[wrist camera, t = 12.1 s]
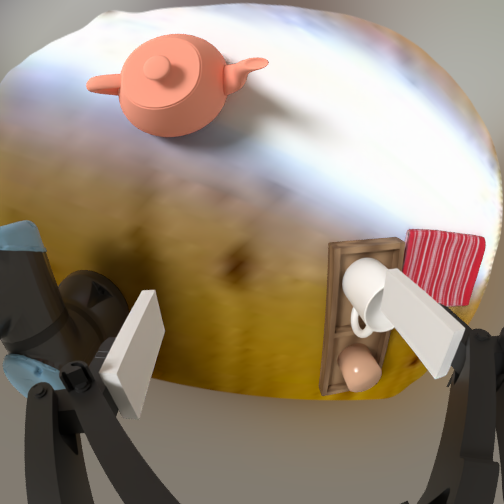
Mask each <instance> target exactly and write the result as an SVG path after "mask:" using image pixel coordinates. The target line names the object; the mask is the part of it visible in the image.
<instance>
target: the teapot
mask: <svg viewBox="0 0 504 504" xmlns="http://www.w3.org/2000/svg"><path fill="white" fill-rule="evenodd" d="M268 63H269V62H268V60H266V59H264V58H249V59H246V60H243V61H240V62H238V63H236V64H230V65H226V62H225V60H224V58H223V56H222V55H221V53H220V52H219V51H218V50H217V49H216V48H215V47H214V46H213V45H212V44H210V43H209V42H207V41H206V40H203V39H201V38H199V37H195V36H192V35H186V34H170V35H164V36H160V37H156V38H154V39H151V40H149V41H147V42H145V43H144V44H142V45H140V46H139V47H138V48H137V49H135V50H134V51H133V52H132V53H131V54H130V56H129V57H128V58H127V60H126V61H125V63H124V65H123V68H122V70H121V74H111V75H101V76H96V77H93V78H91V79H89V80H88V82H87V84H86V87H87V89H88V90H89V91H90V92H94V93H100V94H109V95H119V101H120V105H121V108H122V110H123V113H124V114H125V116H126V117H127V119H128V120H129V121H130V122H131V123H132V124H133V125H134V126H135V127H137V128H138V129H140V130H142V131H144V132H146V133H149V134H151V135H155V136H161V137H177V136H183V135H187V134H190V133H193V132H195V131H197V130H199V129H201V128H203V127H205V126H206V125H208V124H209V123H210V122H211V121H213V119H214V118H215V117H216V116H217V115H218V114H219V112H220V111H221V110H222V108H223V106H224V104H225V101H226V99H227V95H229V94H231V93H234V92H236V91H238V90H240V89H241V88H242V87H243V85H244V84H245V82H246V79H247V75H248V74H249V73H250V72H252V71H255V70H259V69H262V68H264V67H266V66H267V65H268Z"/></svg>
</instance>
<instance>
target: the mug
mask: <svg viewBox="0 0 504 504" xmlns="http://www.w3.org/2000/svg"><path fill="white" fill-rule="evenodd" d="M387 269H388V268H386V267H385V266H384V265H383V264H382V263H381V262H379V261H378V260H376V259H373V258H362V259H359V260H357V261H355V262H354V263H352V264H351V265H350V266H349V267H348V269H347V270H346V272H345V274H344V276H343V280H342V287H343V291H344V293H345V295H346V297H347V298H348V300H349V301H350V302H351V304H352V305H353V309H352V312H351V326H352V330H353V332H354V333H355V334H356V335H357V336H358V337H360V338H366V337H368V336H369V335H371V334H372V333H373V331H375V332H386V331H389V330H391V329H393V328H395V327H394V326H393V325H392V323H391V322H390V321H389V320H388V319H387V317H386V316H385V315H384V314H383V312H382V311H381V310H380V309H381V303H382V297H383V291H384V284H385V277H386V270H387ZM359 315H360V317H361V318H362V320H363V321H364V323H365V324H366V327H365V328H364V329H363V330H362V329H361V328H360V326H359V323H358V316H359Z"/></svg>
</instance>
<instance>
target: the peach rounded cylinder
mask: <svg viewBox="0 0 504 504" xmlns="http://www.w3.org/2000/svg"><path fill="white" fill-rule="evenodd" d="M337 363H338V366H339V368H340V370H341V373H342V375H343V377H344V379H345V382H346V384H347V386H348V388H349V390H351V391H353V392H362V391H365V390H367V389H369V388H371V387H373V386H374V385H375V384H376V383H377V382H378V381H379V379H380V378H381V375H382V371H381V369H380V367H379V365H378V364H377V362H376V360H375V359H374V357H373V355H372V354H371V352H370V350H369V349H368V347H367V346H366V345H365V344H362V343H356V344H352V345H350V346H348V347H346V348H345V349H344V350H343V351H342V352H341V353H340V354H339V356H338V359H337Z"/></svg>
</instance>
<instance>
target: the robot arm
mask: <svg viewBox="0 0 504 504" xmlns="http://www.w3.org/2000/svg"><path fill="white" fill-rule="evenodd" d="M46 252H47V250H46V248H45V247H44V246H43V243H42V240H41V237H40V234H39V231H38V228H37V226H36V225H35V224H34V223H33V222H31V221H28V220H25V221H20V222H16V223H12V224H8V225H5V226H1V227H0V339H1V341H2V343H3V345H4V346H5V348H6V350H7V352H8V355H6V356H5V358H4V361H3V369H4V373H5V375H6V376H7V378H8V380H9V381H10V382H11V384H12V385H13V386H14V387H15V388H16V389H17V390H18V391H19V392H20V393H21V394H22V395H24V396H25V397H26V398H27V407H26V420H25V421H26V422H25V477H26V489H27V499H28V504H94V501H93V497H92V493H91V489H90V485H89V481H88V477H87V472H86V467H85V462H84V457H83V451H82V445H81V438H80V433H85V434H86V436H87V438H88V441H89V443H90V445H91V447H92V449H93V451H94V453H95V455H96V456H97V458H98V460H99V462H100V464H101V466H102V468H103V469H104V471H105V473H106V475H107V476H108V478H109V480H110V482H111V483H112V485H113V486H114V488H115V489H116V491H117V493H118V494H119V496H120V497H121V499H122V500H123V502H124V503H125V504H180V503H179V502H178V500H177V499H176V498H175V497H174V496H173V495H172V494H171V493H170V491H169V490H168V489H167V488H166V487H165V486H164V484H163V483H162V482H161V481H160V479H159V478H158V477H157V476H156V474H155V473H154V472H153V471H152V469H151V468H150V467H149V465H148V464H147V463H146V461H145V460H144V459H143V457H142V456H141V454H140V453H139V452H138V450H137V449H136V447H135V446H134V444H133V443H132V441H131V440H130V438H129V437H128V436H127V434H126V432H125V431H124V429H123V428H122V426H121V425H120V423H119V421H118V420H117V418H116V415H117V413H118V410H119V412H120V414H121V415H122V417H123V418H126V419H137V420H139V419H140V415H141V411H142V408H143V404H144V400H145V397H146V393H147V390H148V386H149V383H150V379H151V376H152V372H153V369H154V366H155V362H156V359H157V356H158V352H159V349H160V346H161V343H162V339H163V336H164V333H165V329H164V325H163V321H162V317H161V313H160V309H159V304H158V300H157V296H156V291H155V290H142V292H141V294H140V295H139V297H138V299H137V301H136V302H135V304H134V306H133V308H132V310H131V311H130V313H129V310H128V306H127V303H126V301H125V299H124V297H123V295H122V293H121V292H120V291H119V289H118V288H117V287H116V286H115V285H114V284H113V283H112V282H111V281H110V280H108V279H107V278H106V277H104V276H102V275H100V274H98V273H96V272H93V271H88V270H79V271H75V272H73V273H71V274H70V275H68V276H67V277H66V278H65V279H64V280H63V281H62V282H61V283H60V285H59V287H58V286H57V283H56V280H55V278H54V275H53V272H52V269H51V266H50V263H49V260H48V257H47V254H46ZM380 310H381V311H382V312H383V314H384V315H385V316H386V317H387V319H388V320H389V321H390V322H391V323H392V325H393V326H394V327H395V328H396V330H397V331H398V332H399V333H400V335H401V336H402V337H403V338H404V340H405V341H406V342H407V343H408V345H409V346H410V347H411V349H412V350H413V351H414V352H415V354H416V355H417V356H418V358H419V359H420V360H421V361H422V363H423V364H424V365H425V367H426V368H427V369H428V371H429V372H430V373H431V375H432V376H433V377H434V379H438V378H440V377H443V376H445V375H447V373H448V370H449V368H450V366H452V367H453V368H454V372H453V374H452V377H451V378H450V380H449V383H448V385H447V387H449V385H450V384H451V388H450V395H449V402H448V408H447V413H446V418H445V424H444V428H443V432H442V437H441V441H440V445H439V449H438V453H437V456H436V460H435V463H434V467H433V470H432V473H431V476H430V479H429V482H428V485H427V488H426V490H425V492H424V494H423V495H422V497H421V498H420V500H419V501H418V503H417V504H493V502H494V498H495V492H496V487H497V482H498V476H499V463H498V462H493V451H494V442H495V428H496V432H497V439H498V445H499V453H500V462H501V474H502V490H503V500H504V328H502V330H501V333H500V335H499V336H491V335H490V334H489V333H488V332H487V331H485V330H482V329H473V330H472V329H471V328H470V327H469V326H468V325H467V324H466V323H465V322H463V321H462V320H461V319H460V318H459V317H457V315H456V314H455V313H453V312H452V311H451V310H450V309H449V308H448V307H447V306H445V305H443V304H441V303H437V302H436V301H435V300H434V299H433V298H432V297H430V296H429V295H428V294H427V293H426V292H425V291H424V290H422V289H421V288H420V287H419V286H418V285H417V284H415V283H414V282H413V281H412V280H411V279H409V278H408V277H407V276H406V275H405V274H403V273H402V272H401V271H400V270H399V269H397V268H395V269H387V270H386V277H385V284H384V291H383V297H382V303H381V309H380ZM401 504H409V503H408V501H406V502H404V503H401Z"/></svg>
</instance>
